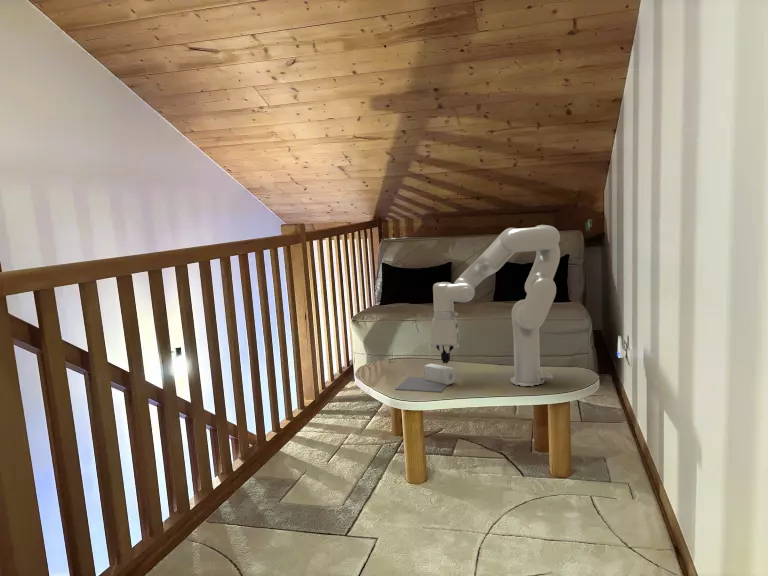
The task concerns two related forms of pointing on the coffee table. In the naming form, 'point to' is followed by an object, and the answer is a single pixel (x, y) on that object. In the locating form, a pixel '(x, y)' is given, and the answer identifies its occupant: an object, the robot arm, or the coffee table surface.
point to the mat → (421, 385)
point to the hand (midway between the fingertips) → (445, 362)
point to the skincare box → (439, 373)
